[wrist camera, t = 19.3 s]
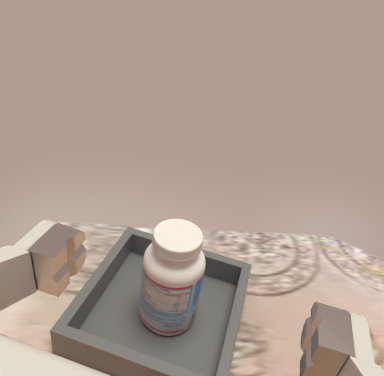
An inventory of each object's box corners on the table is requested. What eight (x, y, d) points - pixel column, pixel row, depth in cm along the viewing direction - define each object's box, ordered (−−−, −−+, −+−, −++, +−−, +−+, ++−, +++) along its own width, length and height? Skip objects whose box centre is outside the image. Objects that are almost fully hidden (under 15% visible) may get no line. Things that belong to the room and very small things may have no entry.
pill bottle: (168, 282, 41) (179, 206, 35) (206, 316, 38) (225, 238, 32) (126, 309, 37) (131, 228, 31) (164, 350, 34) (177, 268, 28)
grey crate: (244, 287, 44) (251, 264, 42) (215, 419, 30) (224, 395, 28) (126, 250, 46) (128, 227, 44) (53, 356, 33) (50, 330, 31)
